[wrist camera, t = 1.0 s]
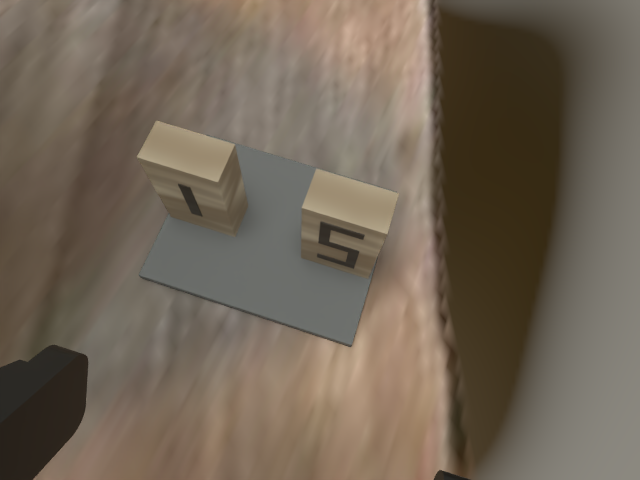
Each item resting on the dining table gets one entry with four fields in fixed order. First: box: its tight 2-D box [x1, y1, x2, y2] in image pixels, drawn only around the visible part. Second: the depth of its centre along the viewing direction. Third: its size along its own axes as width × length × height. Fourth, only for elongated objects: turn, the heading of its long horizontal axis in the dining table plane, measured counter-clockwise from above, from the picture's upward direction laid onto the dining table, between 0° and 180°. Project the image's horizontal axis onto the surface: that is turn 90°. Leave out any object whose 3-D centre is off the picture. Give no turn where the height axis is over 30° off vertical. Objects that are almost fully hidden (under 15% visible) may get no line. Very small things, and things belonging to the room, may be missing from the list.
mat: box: [139, 135, 397, 347], centre depth 33 cm, size 14×11×1 cm
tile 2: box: [301, 169, 399, 279], centre depth 29 cm, size 2×4×8 cm, turn 72°
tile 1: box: [137, 121, 248, 237], centre depth 30 cm, size 2×4×8 cm, turn 72°
